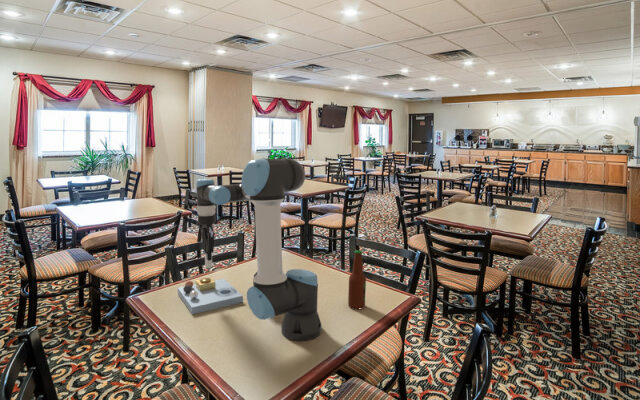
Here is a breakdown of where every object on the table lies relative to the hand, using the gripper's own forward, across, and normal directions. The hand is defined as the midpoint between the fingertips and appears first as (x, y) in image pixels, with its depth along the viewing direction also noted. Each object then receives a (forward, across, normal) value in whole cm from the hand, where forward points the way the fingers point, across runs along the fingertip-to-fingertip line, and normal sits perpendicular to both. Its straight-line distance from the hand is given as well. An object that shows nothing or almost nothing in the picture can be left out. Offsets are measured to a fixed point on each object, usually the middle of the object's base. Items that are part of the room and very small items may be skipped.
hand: (208, 266), depth 165 cm
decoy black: (+12, +4, +9) cm, 15 cm away
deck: (+15, 0, 0) cm, 15 cm away
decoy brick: (+12, +9, +7) cm, 16 cm away
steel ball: (+12, -4, +8) cm, 15 cm away
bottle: (+16, -42, -51) cm, 68 cm away
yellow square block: (+12, +6, 0) cm, 13 cm away
